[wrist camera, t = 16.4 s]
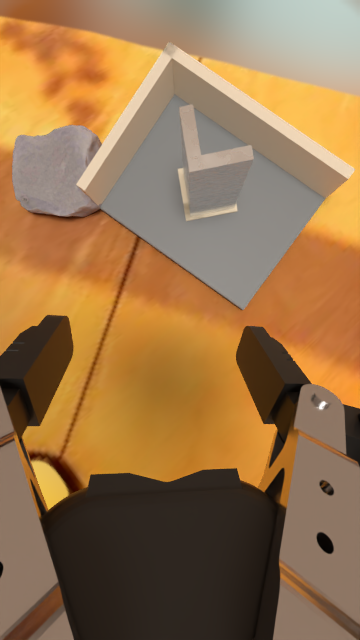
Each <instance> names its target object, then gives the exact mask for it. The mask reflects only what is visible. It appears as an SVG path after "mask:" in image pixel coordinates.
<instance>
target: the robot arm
mask: <svg viewBox="0 0 360 640" xmlns="http://www.w3.org/2000/svg"><path fill="white" fill-rule="evenodd" d="M72 355H73V340H72V334H71V328H70V322H69V318H68V317H67V316H56V315H47V316H46V317H45V318H44V319H43V320H42V321H41V323H40V324H39V325H38V326H32V327H30V328H29V329H27V330H25V331H23V332H22V333H20V334H19V336H18V337H17V338H16V339H15V340H14V341H13V344H11V345H10V346H9V347H8V348H7V349H6V351H5V352H4V353H3V354H2V355H1V356H0V640H360V409H359V408H355V407H351V406H348V405H344V404H342V402H341V401H340V400H339V399H338V398H337V396H335V395H334V394H333V393H332V392H330V391H329V390H327V389H325V388H323V387H321V386H318V385H314V384H312V383H311V382H310V381H309V380H308V378H307V377H306V376H305V374H304V373H303V372H302V370H301V369H300V368H299V366H298V365H297V364H296V362H295V361H293V359H292V357H291V356H290V355H289V354H288V352H287V351H286V349H285V348H284V347H283V345H282V344H280V343H279V342H278V341H277V340H275V339H274V338H271V337H270V336H269V334H268V333H267V332H266V330H265V329H264V328H263V327H255V326H246V327H245V328H244V331H243V334H242V337H241V340H240V343H239V346H238V349H237V352H236V361H237V364H238V367H239V369H240V371H241V373H242V376H243V378H244V380H245V382H246V385H247V387H248V389H249V392H250V394H251V396H252V398H253V401H254V403H255V405H256V407H257V410H258V412H259V414H260V417H261V419H262V421H263V423H264V424H275V425H276V427H277V430H276V431H275V434H274V437H273V441H272V445H271V449H270V452H269V456H268V460H267V464H266V468H265V471H264V474H263V477H262V480H261V482H260V484H259V486H258V488H257V487H255V486H253V485H251V484H249V483H246V482H244V481H241V480H240V478H239V475H238V471H237V468H236V469H213V470H202V471H199V472H196V473H193V474H191V475H188V476H185V477H182V478H180V479H177V480H174V481H171V482H162V481H158V480H154V479H150V478H147V477H143V476H139V475H135V474H131V473H118V474H95V475H91V476H90V480H89V485H88V487H87V488H84V489H81V490H79V491H77V492H75V493H73V494H71V495H69V496H68V497H66V498H64V499H63V500H61V501H60V502H58V503H57V504H56V505H54V506H53V507H52V508H51V509H49V510H48V508H47V505H46V503H45V500H44V497H43V495H42V492H41V490H40V487H39V484H38V481H37V478H36V475H35V472H34V469H33V467H32V464H31V461H30V458H29V455H28V452H27V449H26V446H25V443H24V440H23V437H22V435H23V433H24V431H25V429H26V427H27V426H40V424H41V422H42V420H43V418H44V416H45V414H46V412H47V410H48V407H49V405H50V403H51V401H52V399H53V397H54V395H55V392H56V390H57V388H58V386H59V384H60V382H61V380H62V378H63V375H64V373H65V371H66V369H67V367H68V365H69V363H70V361H71V358H72Z"/></svg>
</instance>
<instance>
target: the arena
mask: <svg viewBox="0 0 360 640" xmlns="http://www.w3.org/2000/svg"><path fill="white" fill-rule="evenodd" d="M191 104H193V108H194V114H195V120H196V127H197V133H198V139H199V145H200V152H201V155H205V154H209V153H214V152H219V151H224V150H229V149H234V148H238V147H243V146H248V145H252V150H253V157H254V160H253V162H252V165H251V167H250V170H249V172H248V175H247V177H246V180H245V182H244V185H243V187H242V190H241V192H240V194H239V197H238V199H237V202H236V204H235V207H234V209H228V210H223V211H218V212H213V213H207V214H202V215H197V216H192V217H190V212H189V206H188V200H187V194H186V187H185V181H184V175H183V163H182V147H181V131H180V115H179V107H182V106H187V105H191ZM354 171H355V169H354V168H353V167H351V166H350V165H348V164H347V163H345V162H344V161H342V160H341V159H340V158H338V157H337V156H335V155H334V154H332V153H331V152H329V151H328V150H326V149H325V148H324V147H322V146H321V145H319V144H318V143H316V142H315V141H313V140H312V139H310V138H309V137H308V136H306V135H305V134H303V133H302V132H300V131H299V130H297V129H296V128H294V127H293V126H291V125H290V124H289V123H287V122H286V121H284V120H283V119H281V118H280V117H278V116H277V115H275V114H274V113H273V112H271V111H270V110H268V109H267V108H265V107H264V106H262V105H261V104H259V103H258V102H257V101H255V100H254V99H252V98H251V97H249V96H248V95H246V94H245V93H243V92H242V91H241V90H239V89H238V88H236V87H235V86H233V85H232V84H230V83H229V82H227V81H226V80H224V79H223V78H222V77H220V76H219V75H217V74H216V73H214V72H213V71H211V70H210V69H208V68H207V67H206V66H204V65H203V64H201V63H200V62H198V61H197V60H195V59H194V58H192V57H191V56H190V55H188V54H187V53H185V52H183V51H182V50H180V49H179V48H178V47H176V46H175V45H174V44H172V43H171V42H169V43H168V44H167V46H166V47H165V49H164V50H163V52H162V53H161V55H160V56H159V58H158V59H157V61H156V63H155V64H154V66H153V67H152V69H151V70H150V72H149V73H148V75H147V76H146V78H145V79H144V81H143V83H142V84H141V86H140V87H139V89H138V90H137V92H136V93H135V95H134V96H133V98H132V99H131V101H130V102H129V104H128V106H127V107H126V109H125V110H124V112H123V113H122V115H121V116H120V118H119V119H118V121H117V122H116V124H115V126H114V127H113V129H112V130H111V132H110V133H109V135H108V136H107V138H106V139H105V141H104V142H103V144H102V145H101V147H100V149H99V150H98V152H97V153H96V155H95V156H94V158H93V159H92V161H91V162H90V164H89V165H88V167H87V169H86V170H85V172H84V173H83V175H82V176H81V178H80V179H79V181H78V182H77V184H76V185H77V186H78V187H79V188H80V189H81V191H82V192H83V193H84V194H86V195H87V196H88V197H90V198H91V199H92V200H93V201H94V202H95V203H96V204H97V205H98V206H99V204H102V205H101V206H100V209H101V210H102V211H103V212H105V213H106V214H108V215H109V216H110V217H112V218H113V219H115V220H116V221H117V222H119V223H120V224H122V225H123V226H124V227H126V228H127V229H129V230H130V231H132V232H133V233H134V234H136V235H137V236H139V237H140V238H141V239H143V240H144V241H146V242H147V243H148V244H150V245H151V246H153V247H154V248H155V249H157V250H158V251H160V252H161V253H162V254H164V255H165V256H167V257H168V258H169V259H171V260H172V261H174V262H175V263H176V264H178V265H179V266H181V267H182V268H183V269H185V270H186V271H188V272H189V273H190V274H192V275H193V276H195V277H196V278H197V279H199V280H200V281H202V282H203V283H204V284H206V285H207V286H209V287H210V288H212V289H213V290H214V291H216V292H217V293H219V294H220V295H221V296H223V297H224V298H226V299H227V300H228V301H230V302H231V303H233V304H234V305H235V306H237V307H238V308H240V309H241V310H244V308H245V307H246V306H247V304H248V303H249V302H250V300H251V299H252V297H253V296H254V295H255V293H256V292H257V291H258V289H259V288H260V287H261V285H262V284H263V283H264V281H265V280H266V278H267V277H268V276H269V274H270V273H271V272H272V270H273V269H274V268H275V266H276V265H277V263H278V262H279V261H280V259H281V258H282V257H283V255H284V254H285V253H286V251H287V250H288V249H289V247H290V246H291V244H292V243H293V242H294V240H295V239H296V238H297V236H298V235H299V234H300V232H301V231H302V230H303V228H304V227H305V225H306V224H307V223H308V221H309V220H310V219H311V217H312V216H313V215H314V213H315V212H316V211H317V209H318V208H319V206H320V205H321V204H322V202H323V201H324V200H325V198H327V197H328V196H329V195H330V194H331V193H332V192H334V191H335V190H336V189H337V188H338V187H339V186H341V185H342V184H343V183H344V182H345V181H347V180H348V179H349V177H350V176H351V175H352V173H353V172H354Z"/></svg>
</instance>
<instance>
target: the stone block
mask: <svg viewBox="0 0 360 640" xmlns="http://www.w3.org/2000/svg"><path fill="white" fill-rule="evenodd" d="M101 145H102V144H101V142H100V140H99V138H98V136H97V135H96V134H94V133H92V131H91V130H89V129H87V128H86V127H84V126H75V125H69V126H65V127H61V128H58V129H54V130H53V131H52V132H51V133H49V134H47V135H44V136H35V137H32V136H27V135H20V136H18V137H17V138H16V141H15V148H14V151H13V165H12V170H13V171H12V175H13V176H12V182H13V186H14V192H15V196H16V199H17V200H18V201H20V202H21V206H22V207H24V208H25V209H26V210H28V211H29V212H34V213H45V214H53V215H57V216H66V217H69V216H80V217H85V216H88V215H90V214H91V213H93V212H95V211H97V210H99V209H100V206H101V205H102V204H99V206H98V205H97V204H96V203H95V202H94V201H93V200H92V199H91V198H90V197H88V196H87V195H86V194H84V193H83V192H82V191H81V189H80V188H79V187H78V186H77V185H76V184H77V182H78V181H79V179H80V178H81V176H82V175H83V173H84V172H85V170H86V169H87V167H88V165H89V164H90V162H91V161H92V159H93V158H94V156H95V155H96V153H97V152H98V150H99V149H100V147H101Z"/></svg>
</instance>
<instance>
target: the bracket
mask: <svg viewBox="0 0 360 640" xmlns="http://www.w3.org/2000/svg"><path fill="white" fill-rule="evenodd" d="M179 115H180V131H181V147H182V163H183V175H184V181H185V187H186V194H187V200H188V206H189V212H190V217H192V216H197V215H202V214H207V213H213V212H218V211H223V210H228V209H234V207H235V204H236V202H237V199H238V197H239V194H240V192H241V190H242V187H243V185H244V182H245V180H246V177H247V175H248V172H249V170H250V167H251V165H252V162H253V160H254V157H253V150H252V145H248V146H243V147H238V148H234V149H229V150H224V151H219V152H214V153H209V154H205V155H201V152H200V145H199V139H198V133H197V127H196V120H195V114H194V108H193V104H191V105H187V106H182V107H179Z"/></svg>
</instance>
